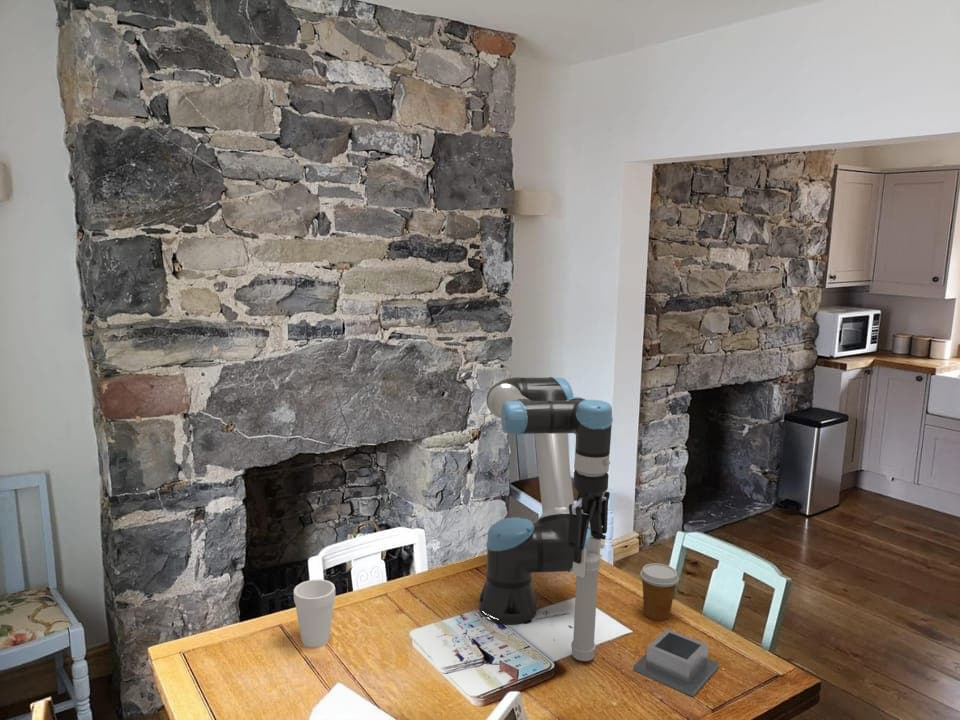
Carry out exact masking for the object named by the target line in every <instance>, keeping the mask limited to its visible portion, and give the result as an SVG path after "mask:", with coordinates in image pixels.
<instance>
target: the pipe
mask: <svg viewBox="0 0 960 720" xmlns="http://www.w3.org/2000/svg"><path fill="white" fill-rule="evenodd" d="M585 545H586V543H585ZM586 548H587V545H586ZM600 560H601V557H600V558H599V556H598V555H597V554H595V553H592V552H588V549H587V552H586V563H585V577H583V578H582V577H580V576H577V575H575V577H576V579H575V599H574V614H573V615H574V617H573V618H574V620H573V638H572V640H571V643H570V645H571V656H572V657H573V658H574V659H575V660H578V661H581V662H589V661H592V660H593V659H594V658H595V654H596V649H597V647H596V643H595V631H596V616H597V615H596V612H597V599H598V598H597V596H598V578H599V571H600V568H601V563H600V562H601V561H600Z"/></svg>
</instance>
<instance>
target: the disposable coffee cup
mask: <svg viewBox="0 0 960 720" xmlns="http://www.w3.org/2000/svg"><path fill="white" fill-rule="evenodd" d="M640 577H641V579H642V580H641V581H642V596H643V597H642V598H643V613H644V615H645V616H646V617H647V618H648V619H650V620H654V621H666V620H668V619H669V618H670V614H671V610H672V605H673V602H674V597H675V596H674V595H675V591H676V586H677V584H678V582H679V579H680V578H679V575H678V572H677V570H676V569H675V568H673V567H672V566H670V565H667V564H663V563H655V562H654V563H648V564H645V565H644V566H643V567H642V569H641V571H640Z"/></svg>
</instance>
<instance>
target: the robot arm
mask: <svg viewBox="0 0 960 720" xmlns="http://www.w3.org/2000/svg"><path fill="white" fill-rule="evenodd" d="M486 406H487V408H488V410H489V411H490V413H492V414H493V415H494V416H495V417H497V418H499V419H500V421H501V422H500V423H501V427H502V431H503V432H504V433H506V434H507V435H509V434H510V435H511V434H512V435H526V434H527V435H529V434H530V435H531V434H532V435H533V434H534V440H535V451H536V458H537V471H538V481H539V493H540V499H541V500H540V502H541V511H542V513H541V515H540V516H539V517H538V518H537V525H534V523H533V521H532V520H530V519H528V518H522V517H507V518H503V519H499V520H498V521H496V522H494V523H493V524H492V525H491V526H490V527H489V529H488V530H487V531H488V532H487V540H486V549H487V550H486V575H485V576H486V579H485V582H484V585H483V588H482V589H481V593H480V595H479V598H478V611H479V613H480V615H482V617H484V618H485V619H487V618H486V617H489V616H487V615H485V614H484V613H483V612H482V611H484V612H485V613H487V614H489V615H491V616H493V617H495V618H498V619H499V620H497V619H493V618H491V617H489V618H490V619H491V620H492V621H491V620H490V621H491V622H493V621H494V622H493V623H498V624H502V625H503V624H504V625H518V624H523V623H525V622H529V621H531V620H532V619H533V618H534V617H536V615H537V613H538V600H537V597H536V594H535V590H534V586H533V583H532V577H533V575H532V574H533V573H559V572H561V573H562V572H567V573H571V572H572V575H574V576H576V575H577V576H580V577H582V578H583V577H585V563H586V552H587V549H588V552H592V553H595V554H597V555H598V556H599V558H600V559H601V543H602V541H601V540H603V541H604V540H606V539H607V536H606V535H605V534H607V532H608V518H609V517H608V516H609V500H610V496H611V494H610V492H609V491H608V488H609V475H610V474H609V473H608V472H609V469H610V465H611V460H610V454H611V439H612V427H613V425H612V424H613V421H614V420H613V407H612V405H611V404H610V403H609V402H607V401H603V400H598V399H585V398H583V397H580V396H574V393H573V389H572V386H571V385H570V383H569V381H567V380H566V379H565V378H563V377H555V376H549V377H520V376H519V377H509V378H507V379H503V380H501V381H498V382H497V383H495V384H494V385H493V386H492V387H490V389H489V391H488V393H487V396H486ZM567 434H574V435H575V446H574V447H575V448H574V449H575V451H574V463H573V468H574V472H573V482H572V477H571V476H572V474H571V468H570V467H571V465H570V457H569V450H568V441H567ZM572 484H573V485H572ZM573 488H574V489H575V490H576V491H577V496H576V502H575V500H574V498H575V497H574V491H573ZM585 543H586V545H587V548H586V545H585Z"/></svg>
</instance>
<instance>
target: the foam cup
mask: <svg viewBox="0 0 960 720" xmlns="http://www.w3.org/2000/svg"><path fill="white" fill-rule="evenodd" d="M335 599H336V587H335V584H334V583H333V582H331V581H330V580H326V579H309V580H306V581H302V582H300V583H299V584H297V585H296V586H295V587H294V589H293V601H294V602H293V603H294V604H295V609H296V616H297V622H298V628H299V633H300V635H299V636H300V639H301V640H300V641H301V643H302V645H303V646H304V647H306V648H310V649H313V648H320V647H323V646H325V645H327V643H328V642H329V641H330V635H331V627H332V622H333V611H334V605H335Z"/></svg>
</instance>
